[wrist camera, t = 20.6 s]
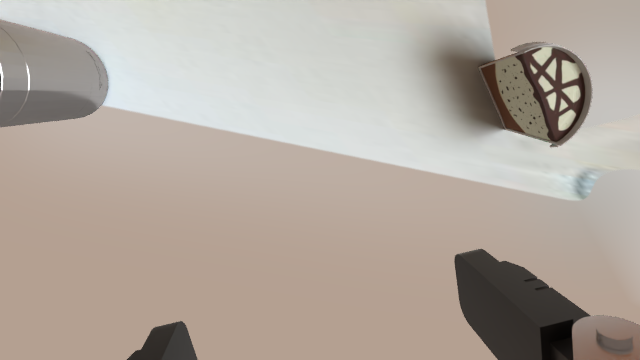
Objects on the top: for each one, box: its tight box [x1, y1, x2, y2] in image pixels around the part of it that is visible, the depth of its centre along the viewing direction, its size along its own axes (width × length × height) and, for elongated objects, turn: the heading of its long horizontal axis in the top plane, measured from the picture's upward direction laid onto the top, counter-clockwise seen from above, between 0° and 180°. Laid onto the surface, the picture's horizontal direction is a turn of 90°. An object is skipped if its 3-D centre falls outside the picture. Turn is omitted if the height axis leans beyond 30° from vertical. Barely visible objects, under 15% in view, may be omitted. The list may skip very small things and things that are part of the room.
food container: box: [478, 42, 593, 147], centre depth 44 cm, size 12×6×10 cm, turn 30°
